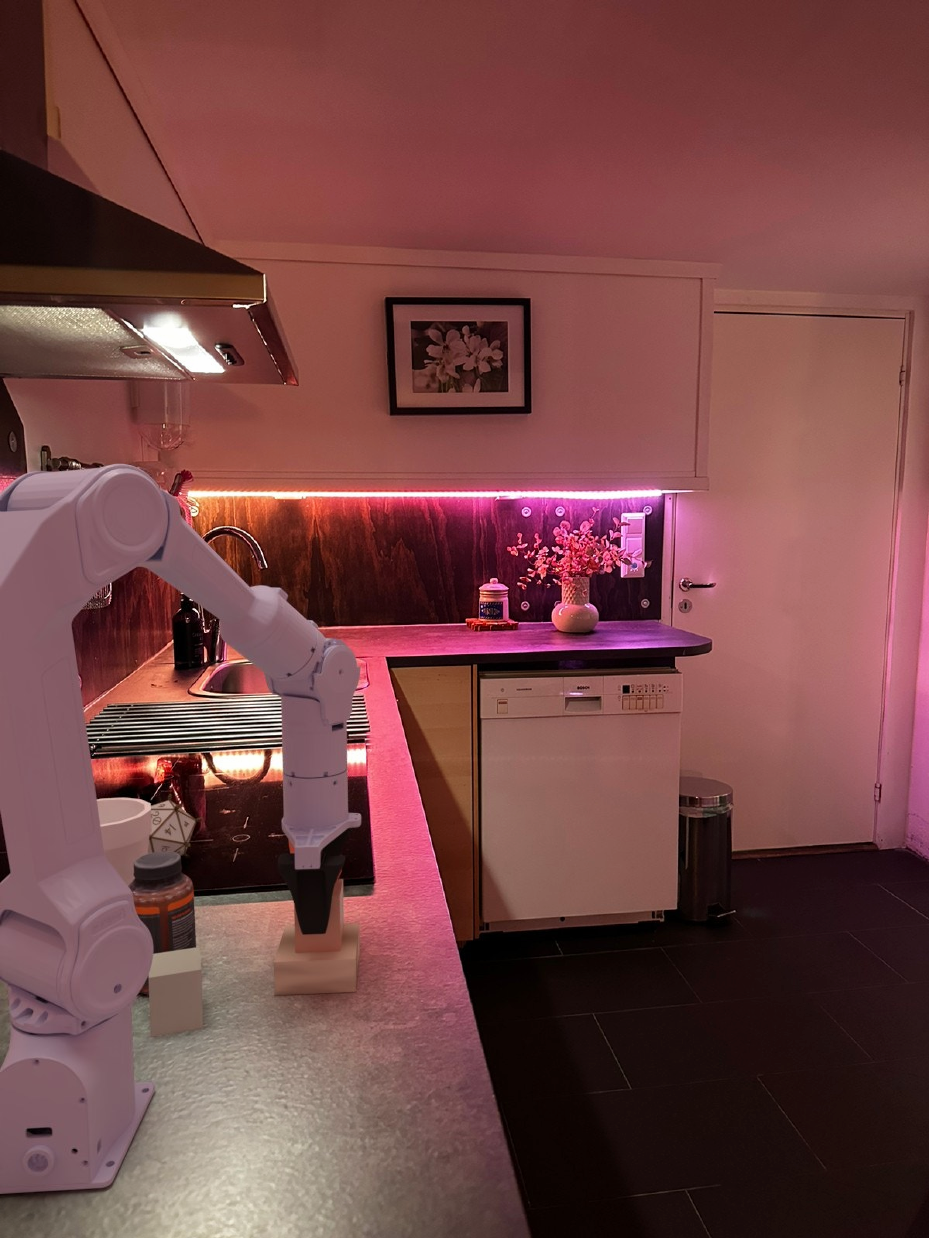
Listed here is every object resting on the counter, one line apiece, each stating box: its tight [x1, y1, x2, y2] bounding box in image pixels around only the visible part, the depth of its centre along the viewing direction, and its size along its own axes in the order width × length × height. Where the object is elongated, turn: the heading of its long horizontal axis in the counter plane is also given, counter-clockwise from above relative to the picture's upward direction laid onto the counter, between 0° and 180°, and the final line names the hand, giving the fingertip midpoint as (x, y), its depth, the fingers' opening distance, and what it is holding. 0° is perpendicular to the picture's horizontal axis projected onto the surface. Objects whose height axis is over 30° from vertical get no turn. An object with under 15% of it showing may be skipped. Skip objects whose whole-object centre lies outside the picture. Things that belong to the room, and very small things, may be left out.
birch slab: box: [273, 922, 361, 996], centre depth 75 cm, size 7×7×3 cm
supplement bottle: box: [128, 851, 197, 995], centre depth 74 cm, size 6×6×11 cm
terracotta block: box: [293, 878, 345, 953], centre depth 75 cm, size 4×4×5 cm
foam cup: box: [96, 797, 152, 886], centre depth 82 cm, size 10×9×13 cm
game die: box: [148, 793, 204, 858], centre depth 102 cm, size 9×8×10 cm
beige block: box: [148, 946, 204, 1038], centre depth 68 cm, size 4×4×5 cm
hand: (318, 916), depth 75 cm, fingers open, 6 cm apart
